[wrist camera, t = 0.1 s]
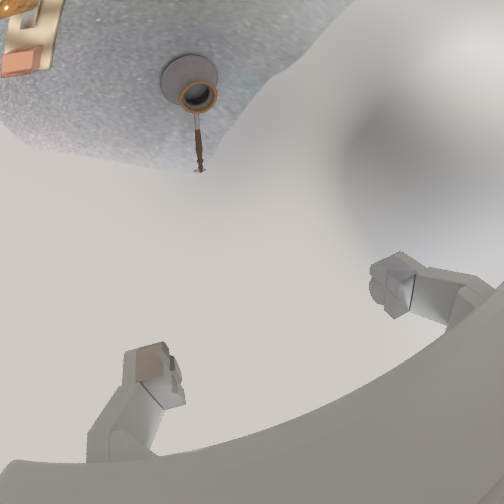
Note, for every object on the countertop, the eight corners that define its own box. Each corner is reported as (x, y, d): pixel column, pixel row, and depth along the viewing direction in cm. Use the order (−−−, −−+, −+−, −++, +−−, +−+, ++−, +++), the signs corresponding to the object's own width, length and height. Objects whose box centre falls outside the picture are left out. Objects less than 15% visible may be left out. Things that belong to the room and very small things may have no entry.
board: (33, -49, 8) (31, -50, 8) (86, -57, 14) (84, -58, 13) (5, 72, 27) (2, 74, 26) (50, 67, 32) (48, 68, 32)
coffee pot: (158, 55, 41) (165, 74, 33) (216, 50, 45) (238, 69, 37) (163, 142, 58) (171, 180, 50) (211, 135, 62) (229, 171, 54)
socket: (13, 49, 24) (3, 55, 21) (42, 45, 27) (33, 50, 24) (11, 69, 27) (1, 78, 24) (39, 66, 30) (30, 73, 27)
